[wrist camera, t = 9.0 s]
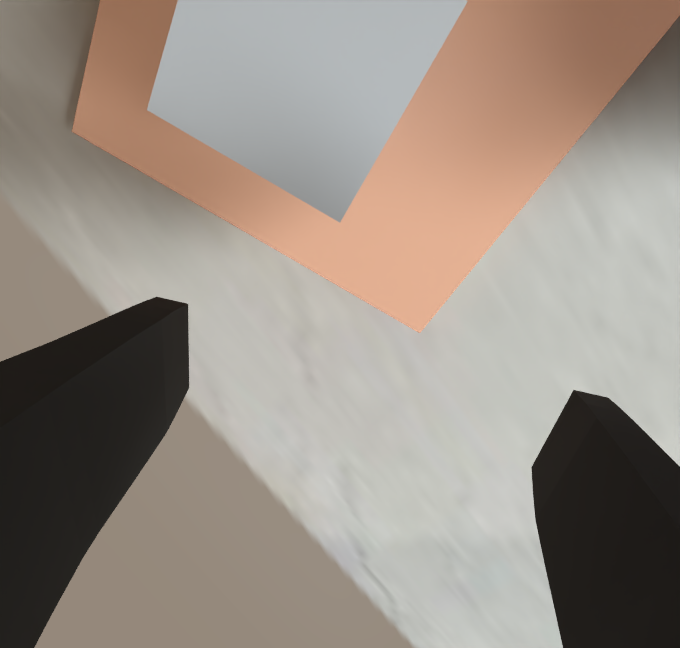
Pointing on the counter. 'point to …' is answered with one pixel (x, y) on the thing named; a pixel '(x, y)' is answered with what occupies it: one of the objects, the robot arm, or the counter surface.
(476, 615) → the counter surface
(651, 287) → the counter surface
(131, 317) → the robot arm
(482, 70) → the terracotta tile
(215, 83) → the slate block
